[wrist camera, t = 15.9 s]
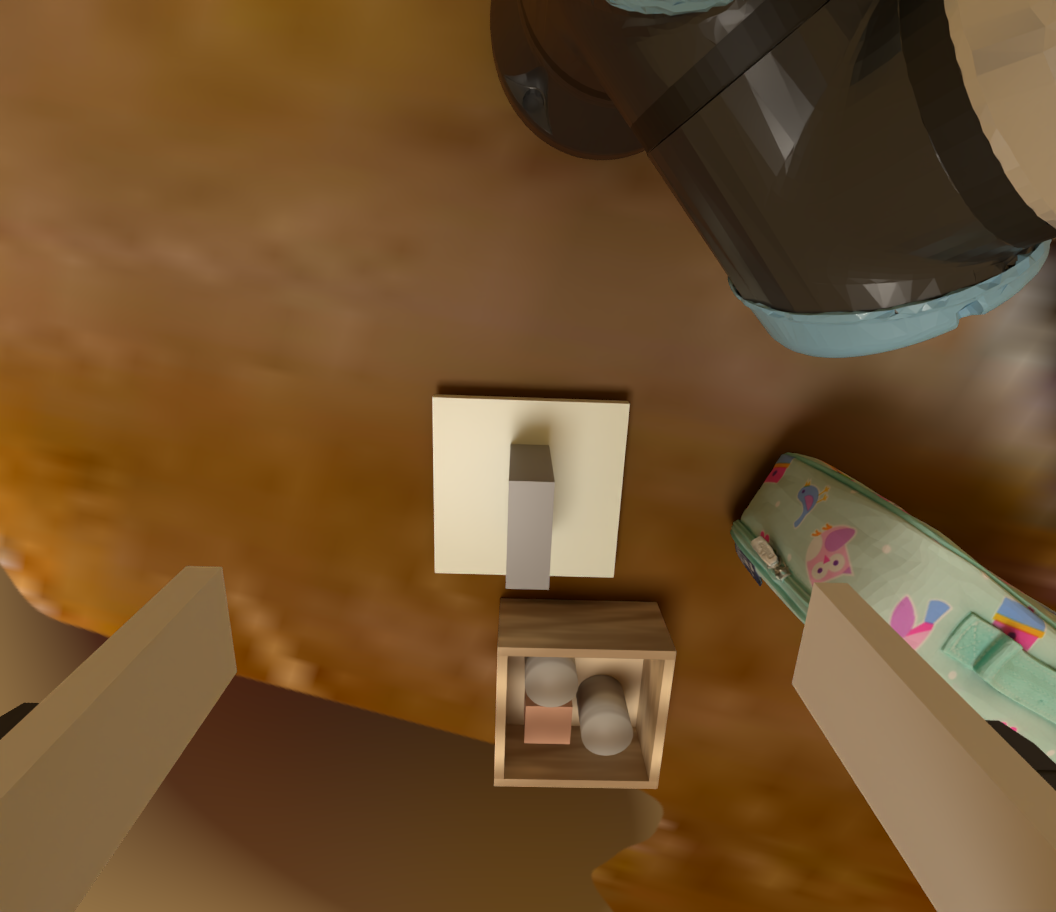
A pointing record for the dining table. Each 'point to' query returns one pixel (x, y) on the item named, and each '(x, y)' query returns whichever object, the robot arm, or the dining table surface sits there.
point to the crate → (581, 693)
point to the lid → (527, 486)
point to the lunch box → (906, 588)
